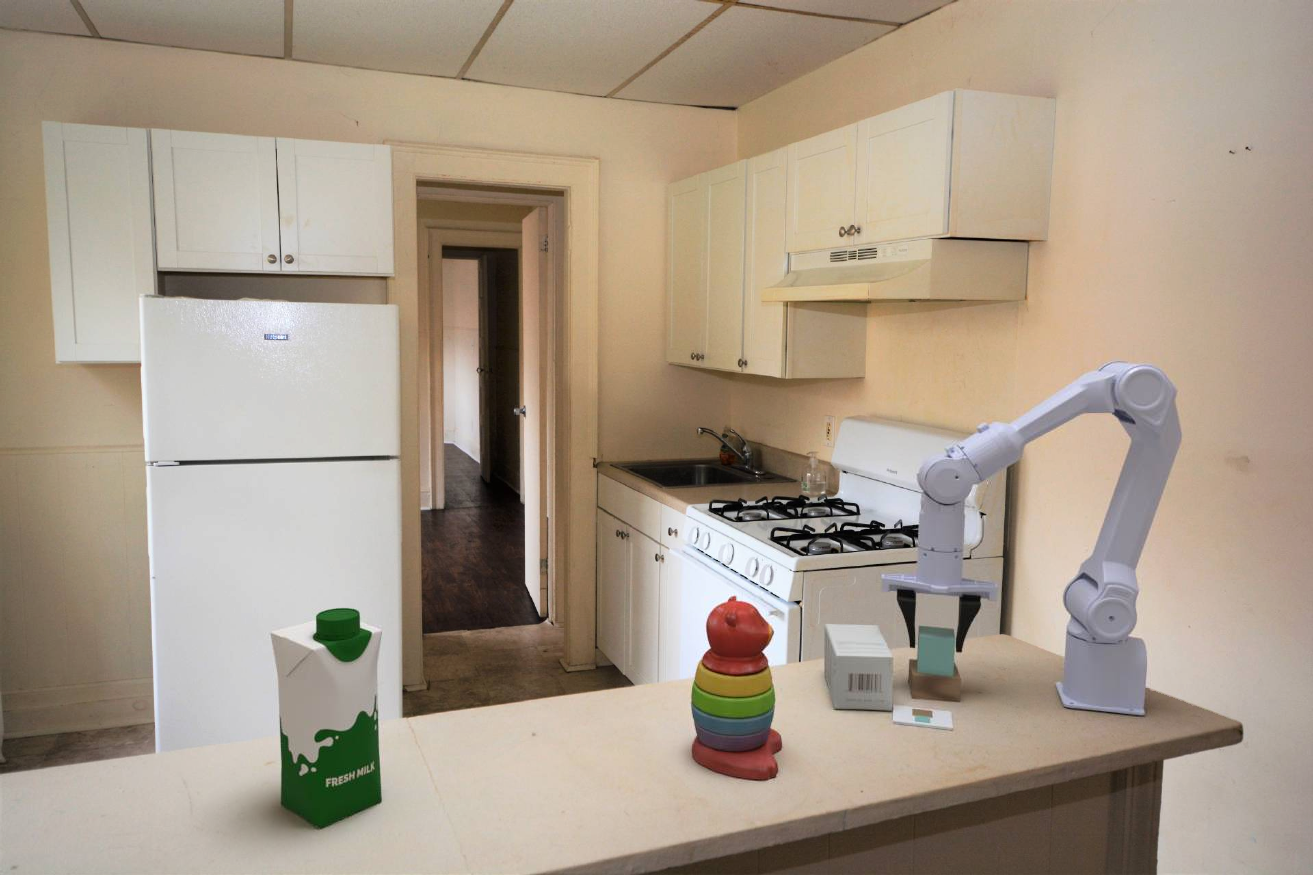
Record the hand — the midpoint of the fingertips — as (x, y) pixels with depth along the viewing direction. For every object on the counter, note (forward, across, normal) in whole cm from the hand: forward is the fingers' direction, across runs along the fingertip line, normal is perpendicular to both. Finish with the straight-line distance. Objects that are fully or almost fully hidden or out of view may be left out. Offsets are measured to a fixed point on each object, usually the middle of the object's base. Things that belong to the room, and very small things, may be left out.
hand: (935, 647), depth 125 cm
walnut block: (+6, 0, 0) cm, 6 cm away
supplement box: (+2, -9, -10) cm, 13 cm away
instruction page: (+6, -2, -10) cm, 11 cm away
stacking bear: (+6, -22, -26) cm, 35 cm away
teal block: (+3, 0, 0) cm, 3 cm away
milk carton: (+6, -59, -48) cm, 76 cm away
